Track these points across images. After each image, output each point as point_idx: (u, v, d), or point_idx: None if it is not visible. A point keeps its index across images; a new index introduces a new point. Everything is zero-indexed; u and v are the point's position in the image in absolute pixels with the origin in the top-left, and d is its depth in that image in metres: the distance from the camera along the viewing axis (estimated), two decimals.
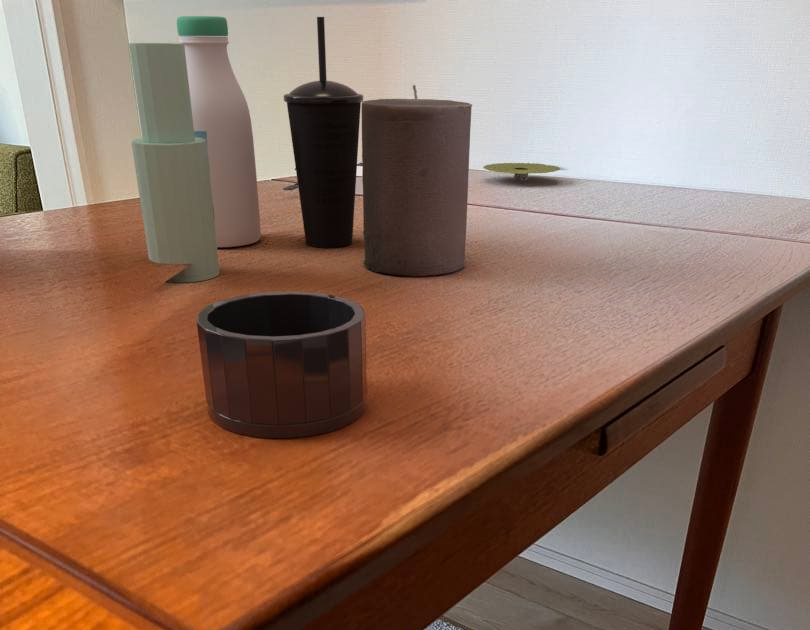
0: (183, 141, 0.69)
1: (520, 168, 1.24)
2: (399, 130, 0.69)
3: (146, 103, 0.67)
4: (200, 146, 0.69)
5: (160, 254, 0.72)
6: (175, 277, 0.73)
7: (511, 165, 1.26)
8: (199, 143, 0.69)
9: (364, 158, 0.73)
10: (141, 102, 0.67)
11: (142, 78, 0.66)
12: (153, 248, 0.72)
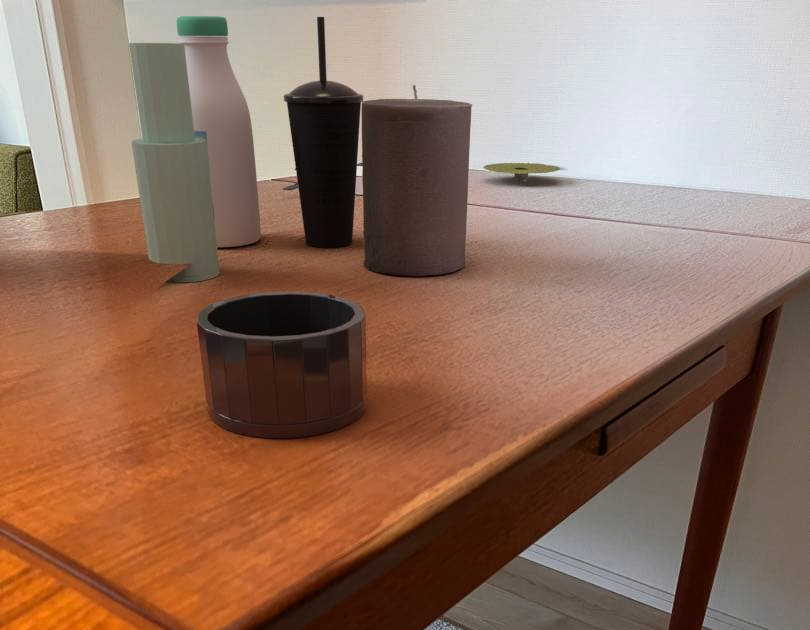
0: (183, 141, 0.69)
1: (520, 168, 1.24)
2: (399, 130, 0.69)
3: (146, 103, 0.67)
4: (200, 146, 0.69)
5: (160, 254, 0.72)
6: (175, 277, 0.73)
7: (511, 165, 1.26)
8: (199, 143, 0.69)
9: (364, 158, 0.73)
10: (141, 102, 0.67)
11: (142, 78, 0.66)
12: (153, 248, 0.72)
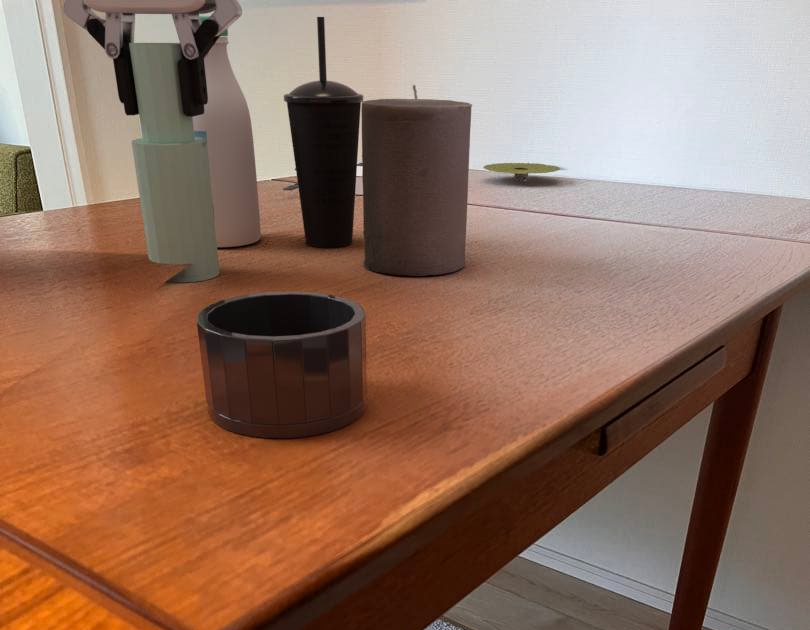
0: (183, 141, 0.69)
1: (520, 168, 1.24)
2: (399, 130, 0.69)
3: (146, 103, 0.67)
4: (200, 146, 0.69)
5: (160, 254, 0.72)
6: (175, 277, 0.73)
7: (511, 165, 1.26)
8: (199, 143, 0.69)
9: (364, 158, 0.73)
10: (141, 102, 0.67)
11: (142, 78, 0.66)
12: (153, 248, 0.72)
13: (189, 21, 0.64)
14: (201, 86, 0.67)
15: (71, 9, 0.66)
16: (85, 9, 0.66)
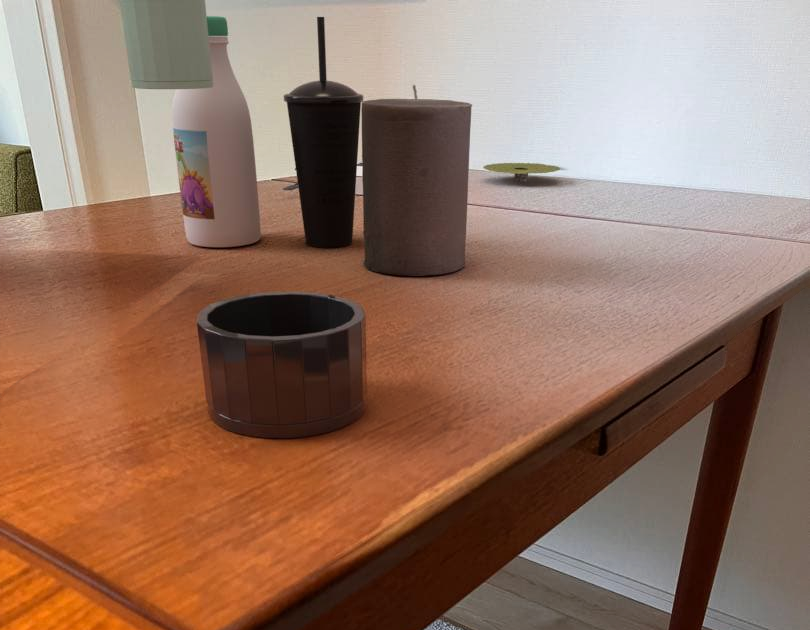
0: None
1: (520, 168, 1.24)
2: (399, 130, 0.69)
3: None
4: None
5: (142, 52, 0.60)
6: (160, 82, 0.61)
7: (511, 165, 1.26)
8: None
9: (364, 158, 0.73)
10: None
11: None
12: (133, 46, 0.60)
13: None
14: None
15: None
16: None
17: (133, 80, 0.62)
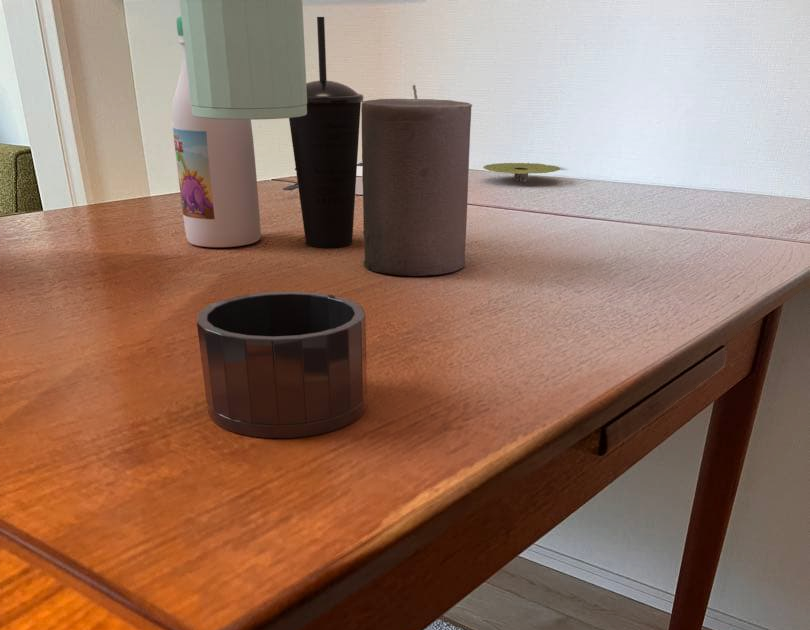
0: None
1: (520, 168, 1.24)
2: (399, 130, 0.69)
3: None
4: None
5: (210, 66, 0.41)
6: (236, 109, 0.42)
7: (511, 165, 1.26)
8: None
9: (364, 158, 0.73)
10: None
11: None
12: (197, 56, 0.41)
13: None
14: None
15: None
16: None
17: (195, 105, 0.43)
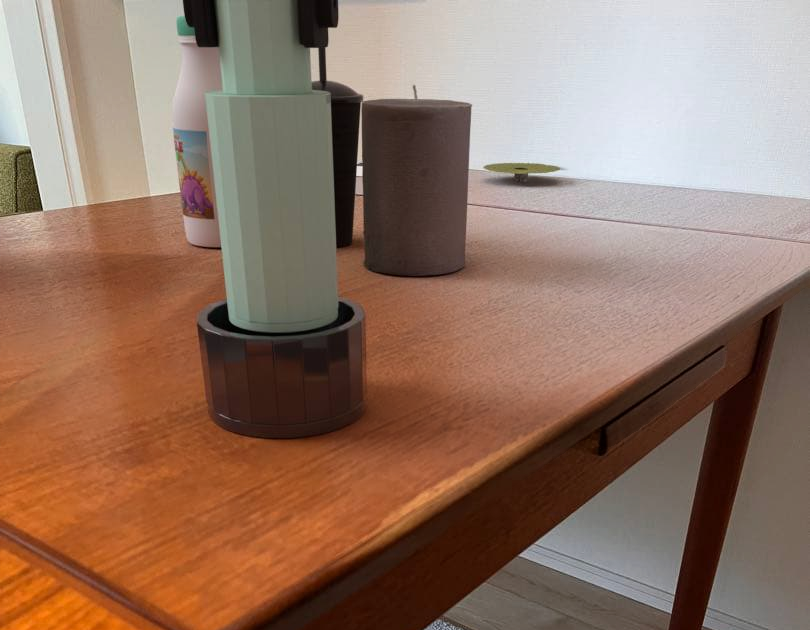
0: (296, 92, 0.40)
1: (520, 168, 1.24)
2: (399, 130, 0.69)
3: (235, 22, 0.38)
4: (324, 101, 0.40)
5: (248, 286, 0.43)
6: (272, 324, 0.44)
7: (511, 165, 1.26)
8: (322, 96, 0.40)
9: (364, 158, 0.73)
10: (226, 21, 0.38)
11: None
12: (236, 277, 0.43)
13: None
14: None
15: None
16: None
17: (232, 314, 0.45)
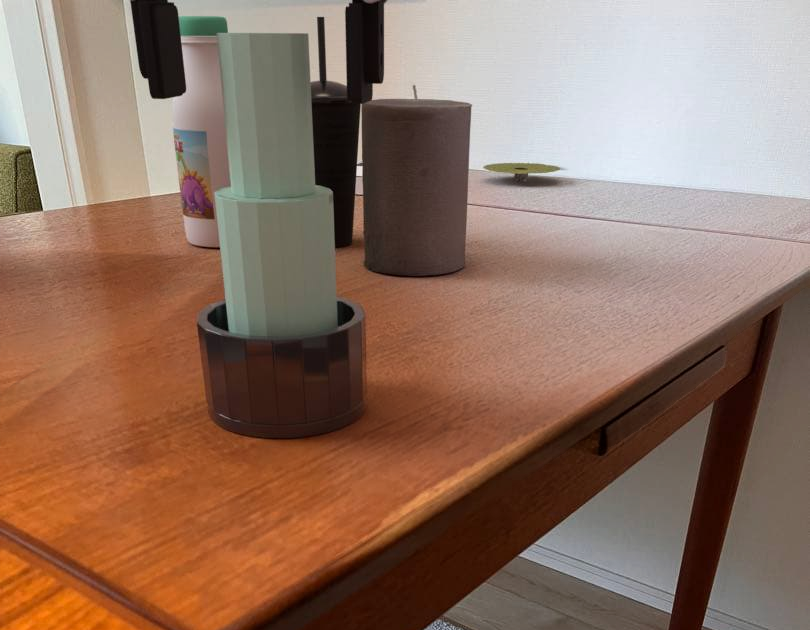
0: (300, 194, 0.42)
1: (520, 168, 1.24)
2: (399, 130, 0.69)
3: (244, 133, 0.40)
4: (326, 202, 0.43)
5: None
6: None
7: (511, 165, 1.26)
8: (325, 197, 0.42)
9: (364, 158, 0.73)
10: (235, 132, 0.40)
11: (239, 92, 0.39)
12: None
13: None
14: (380, 52, 0.39)
15: None
16: None
17: None
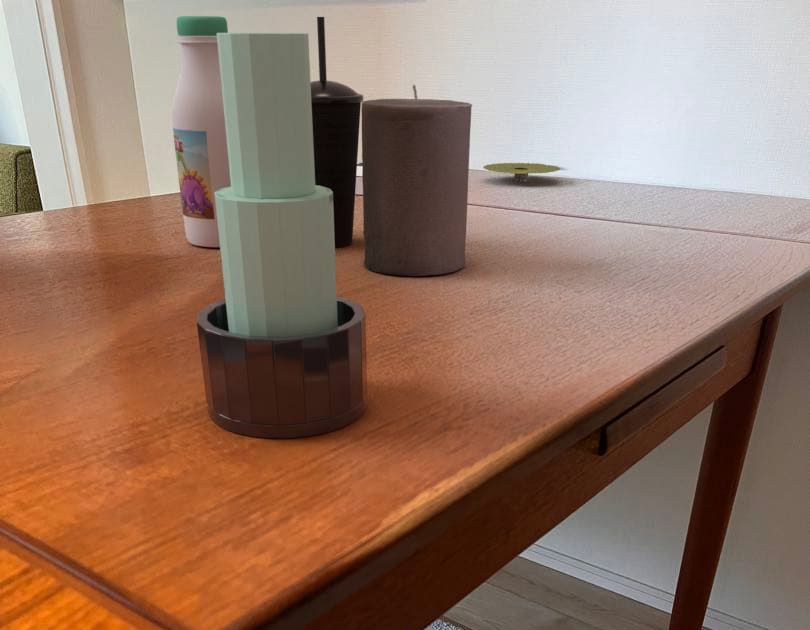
0: (300, 194, 0.42)
1: (520, 168, 1.24)
2: (399, 130, 0.69)
3: (244, 133, 0.40)
4: (326, 202, 0.43)
5: None
6: None
7: (511, 165, 1.26)
8: (325, 197, 0.42)
9: (364, 158, 0.73)
10: (235, 132, 0.40)
11: (239, 92, 0.39)
12: None
13: None
14: None
15: None
16: None
17: None
